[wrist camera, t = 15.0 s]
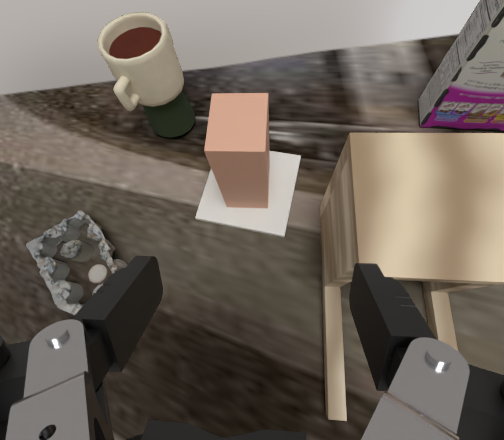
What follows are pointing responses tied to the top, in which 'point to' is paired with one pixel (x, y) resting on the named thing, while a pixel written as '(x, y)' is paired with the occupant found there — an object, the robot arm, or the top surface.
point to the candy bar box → (470, 76)
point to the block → (240, 148)
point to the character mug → (147, 71)
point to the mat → (255, 218)
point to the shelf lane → (411, 226)
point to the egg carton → (57, 271)
